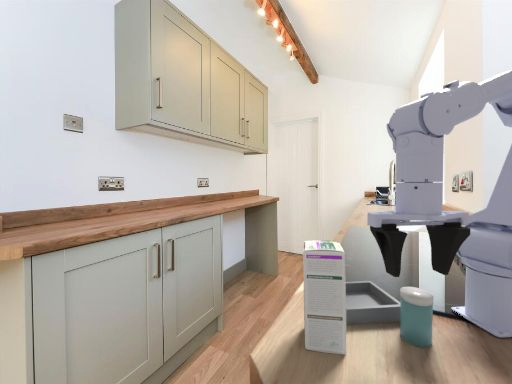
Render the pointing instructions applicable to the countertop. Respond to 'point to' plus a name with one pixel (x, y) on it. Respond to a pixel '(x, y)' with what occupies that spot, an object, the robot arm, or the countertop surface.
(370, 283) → the tray
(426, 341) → the shaker
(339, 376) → the countertop surface
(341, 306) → the syrup box
